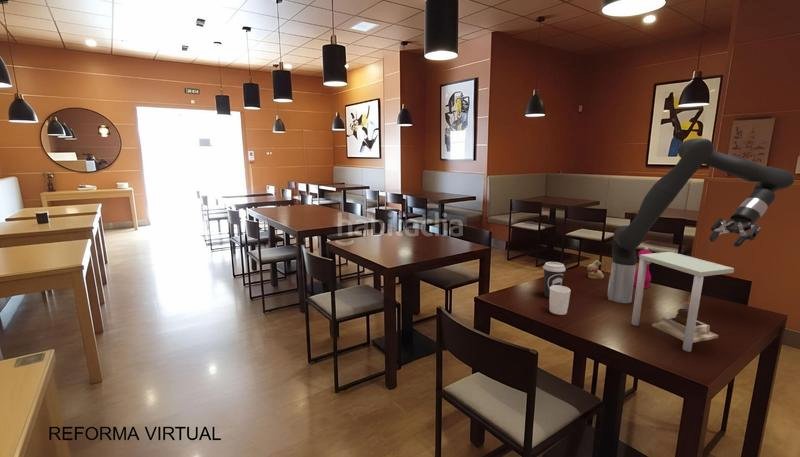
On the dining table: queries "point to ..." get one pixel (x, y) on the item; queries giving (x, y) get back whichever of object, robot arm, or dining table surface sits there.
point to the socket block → (679, 330)
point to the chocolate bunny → (594, 270)
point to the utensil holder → (682, 315)
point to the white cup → (559, 299)
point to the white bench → (685, 265)
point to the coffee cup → (552, 275)
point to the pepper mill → (647, 276)
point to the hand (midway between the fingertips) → (723, 243)
